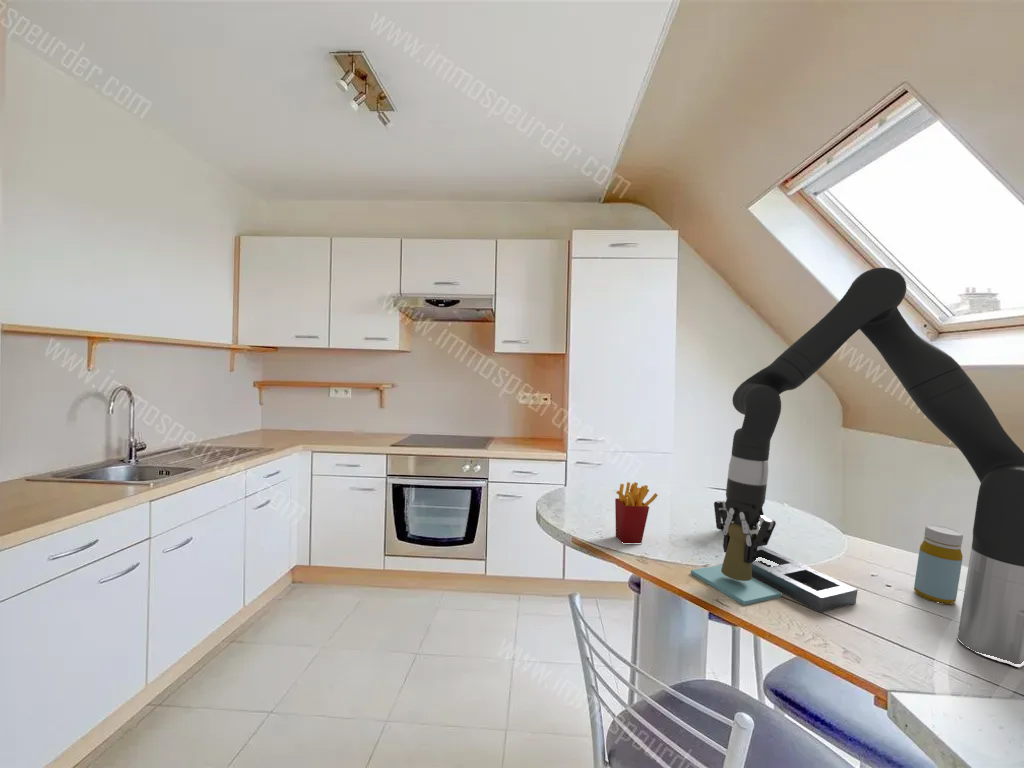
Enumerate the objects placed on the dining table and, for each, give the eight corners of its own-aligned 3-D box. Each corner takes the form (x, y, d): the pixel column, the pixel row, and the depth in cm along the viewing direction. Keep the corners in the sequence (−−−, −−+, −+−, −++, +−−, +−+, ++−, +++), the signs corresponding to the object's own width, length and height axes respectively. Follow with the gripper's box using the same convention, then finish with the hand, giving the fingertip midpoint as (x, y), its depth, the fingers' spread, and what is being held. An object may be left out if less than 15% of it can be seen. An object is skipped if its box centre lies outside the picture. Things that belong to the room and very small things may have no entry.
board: (781, 596, 104) (781, 593, 104) (744, 605, 99) (744, 601, 99) (726, 567, 117) (726, 563, 117) (690, 573, 112) (691, 570, 112)
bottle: (939, 606, 105) (950, 536, 104) (905, 590, 112) (915, 524, 110) (963, 604, 107) (974, 535, 106) (928, 588, 114) (938, 523, 112)
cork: (755, 582, 104) (761, 531, 103) (724, 578, 105) (730, 526, 104) (747, 570, 110) (753, 521, 109) (718, 565, 111) (724, 517, 110)
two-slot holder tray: (855, 603, 104) (857, 589, 103) (819, 612, 99) (821, 598, 98) (758, 556, 124) (759, 545, 124) (724, 562, 119) (725, 550, 119)
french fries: (621, 545, 125) (626, 486, 123) (608, 532, 133) (613, 477, 131) (654, 545, 126) (660, 487, 125) (639, 532, 134) (645, 477, 133)
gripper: (790, 487, 101) (780, 569, 103) (731, 469, 114) (723, 542, 115) (765, 489, 98) (755, 574, 99) (707, 470, 111) (699, 546, 112)
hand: (738, 556), depth 107 cm, fingers closed on cork, 4 cm apart
